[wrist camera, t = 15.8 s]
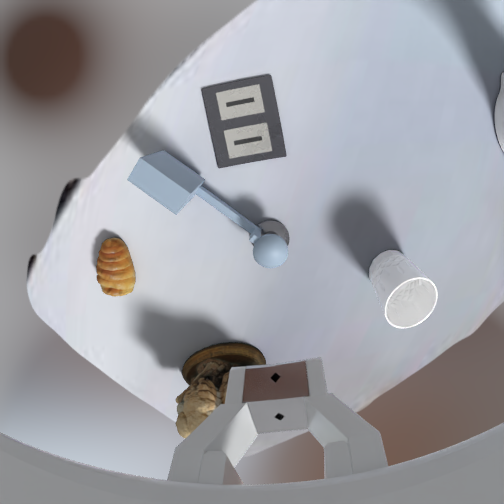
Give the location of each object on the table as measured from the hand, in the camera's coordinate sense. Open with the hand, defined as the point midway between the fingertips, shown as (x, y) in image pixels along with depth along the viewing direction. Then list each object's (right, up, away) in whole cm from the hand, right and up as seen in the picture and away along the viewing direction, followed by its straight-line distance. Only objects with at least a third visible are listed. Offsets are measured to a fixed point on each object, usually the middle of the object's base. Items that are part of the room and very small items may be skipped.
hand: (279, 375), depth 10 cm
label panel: (-2, +21, +27) cm, 34 cm away
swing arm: (-5, +11, +31) cm, 33 cm away
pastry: (-23, +2, +37) cm, 44 cm away
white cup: (+20, +2, +35) cm, 40 cm away
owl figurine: (-7, -18, +45) cm, 49 cm away
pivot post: (+2, +6, +33) cm, 34 cm away
